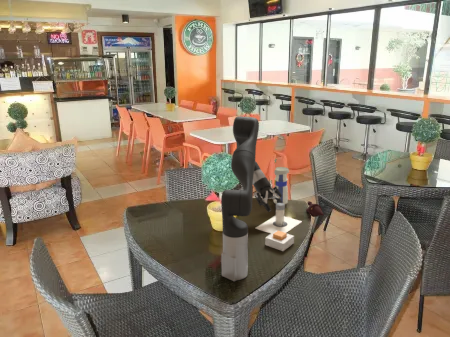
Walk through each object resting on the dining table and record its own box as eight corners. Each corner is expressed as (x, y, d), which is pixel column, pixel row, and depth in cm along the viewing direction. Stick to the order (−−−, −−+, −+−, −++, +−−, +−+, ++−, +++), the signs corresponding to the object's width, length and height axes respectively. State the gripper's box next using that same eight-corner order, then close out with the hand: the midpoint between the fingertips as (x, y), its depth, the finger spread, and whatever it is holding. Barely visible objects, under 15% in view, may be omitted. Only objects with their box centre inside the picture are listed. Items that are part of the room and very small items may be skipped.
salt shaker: (281, 226, 179) (281, 207, 176) (273, 224, 181) (274, 204, 178) (285, 223, 182) (286, 204, 179) (278, 221, 184) (278, 202, 181)
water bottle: (272, 204, 206) (273, 160, 199) (273, 198, 214) (275, 156, 207) (287, 205, 204) (288, 161, 197) (288, 199, 212) (290, 157, 205)
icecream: (331, 208, 183) (314, 200, 197) (318, 207, 181) (302, 198, 195) (328, 222, 184) (311, 213, 198) (315, 220, 182) (299, 211, 196)
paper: (280, 236, 169) (280, 236, 169) (255, 228, 178) (255, 227, 178) (302, 222, 184) (302, 221, 184) (277, 214, 193) (277, 214, 192)
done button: (281, 242, 159) (281, 236, 159) (272, 239, 162) (273, 234, 161) (286, 238, 163) (286, 233, 162) (278, 235, 165) (278, 230, 164)
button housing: (283, 251, 157) (283, 243, 156) (265, 244, 162) (265, 237, 161) (293, 243, 164) (294, 235, 163) (276, 237, 169) (276, 230, 168)
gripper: (253, 180, 180) (270, 209, 175) (273, 173, 189) (290, 201, 184) (245, 187, 185) (261, 216, 180) (265, 181, 194) (281, 208, 189)
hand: (276, 208), depth 182 cm, fingers open, 8 cm apart
